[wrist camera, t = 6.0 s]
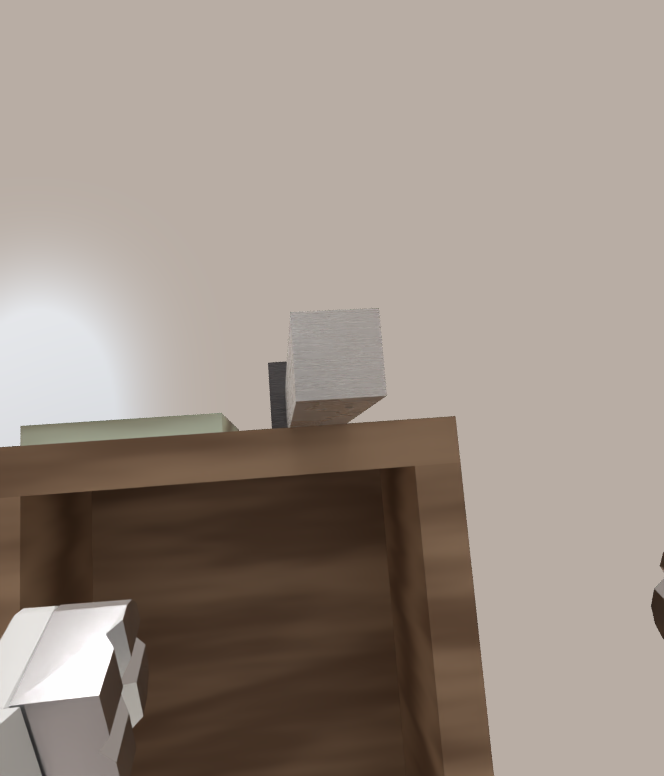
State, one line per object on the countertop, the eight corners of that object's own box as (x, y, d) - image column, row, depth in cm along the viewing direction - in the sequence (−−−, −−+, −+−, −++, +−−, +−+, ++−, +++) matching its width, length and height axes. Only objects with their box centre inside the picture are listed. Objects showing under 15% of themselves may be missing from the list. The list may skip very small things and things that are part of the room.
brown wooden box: (530, 1116, 20) (453, 398, 24) (-46, 1236, 18) (-32, 429, 22) (448, 905, 30) (402, 418, 34) (68, 967, 28) (64, 441, 32)
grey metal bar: (416, 394, 15) (402, 251, 15) (265, 403, 14) (256, 256, 15) (336, 438, 35) (331, 376, 36) (273, 442, 35) (269, 380, 36)
